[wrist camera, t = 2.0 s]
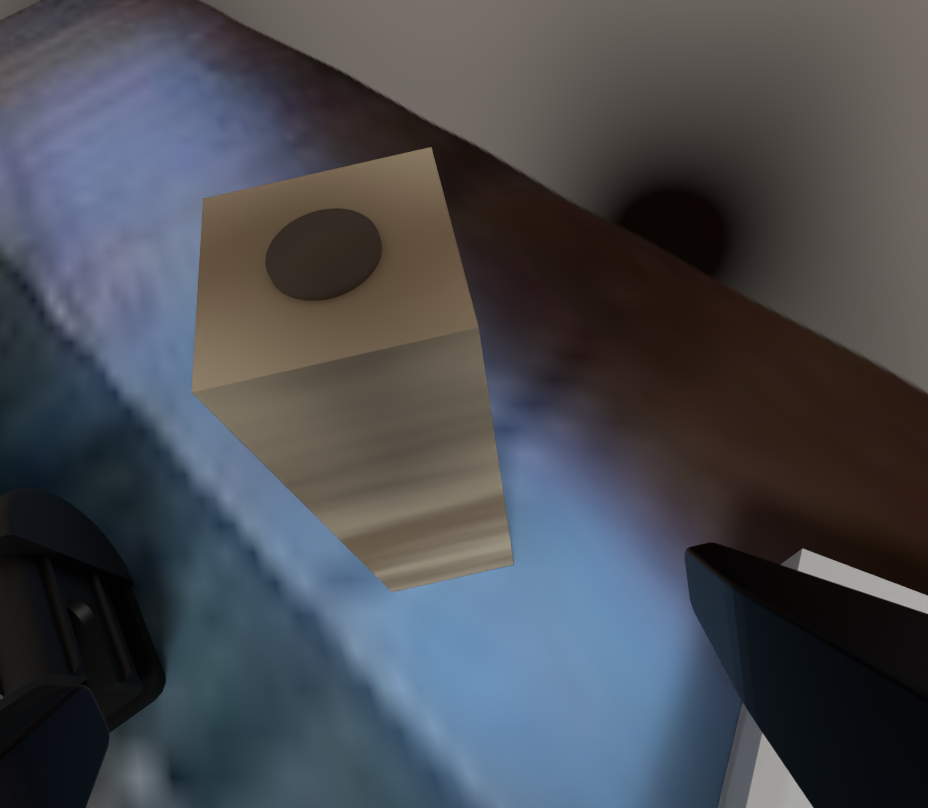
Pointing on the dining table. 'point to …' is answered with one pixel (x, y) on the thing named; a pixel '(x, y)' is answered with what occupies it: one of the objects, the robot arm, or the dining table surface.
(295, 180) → the maple block
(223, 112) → the dining table surface
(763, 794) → the tray
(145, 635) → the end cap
